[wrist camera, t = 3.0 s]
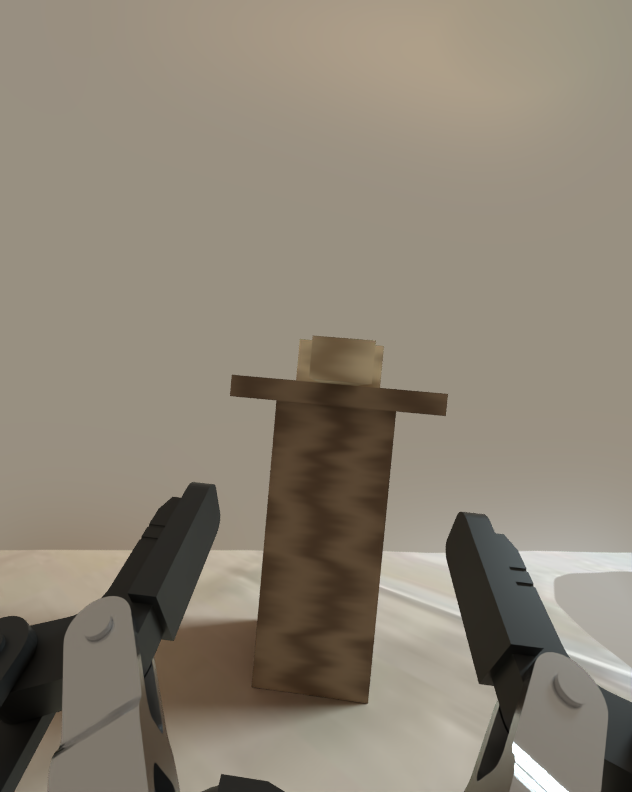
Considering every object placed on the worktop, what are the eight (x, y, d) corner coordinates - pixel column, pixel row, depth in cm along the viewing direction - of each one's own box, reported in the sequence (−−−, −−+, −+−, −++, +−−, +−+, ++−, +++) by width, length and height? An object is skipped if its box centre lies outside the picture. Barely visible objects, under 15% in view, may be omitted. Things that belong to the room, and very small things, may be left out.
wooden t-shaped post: (389, 631, 43) (413, 392, 43) (413, 735, 30) (447, 394, 30) (242, 612, 45) (262, 378, 44) (204, 704, 32) (231, 374, 31)
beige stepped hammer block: (370, 388, 39) (373, 354, 39) (412, 387, 18) (419, 314, 18) (304, 382, 39) (306, 349, 39) (269, 375, 18) (275, 303, 18)
